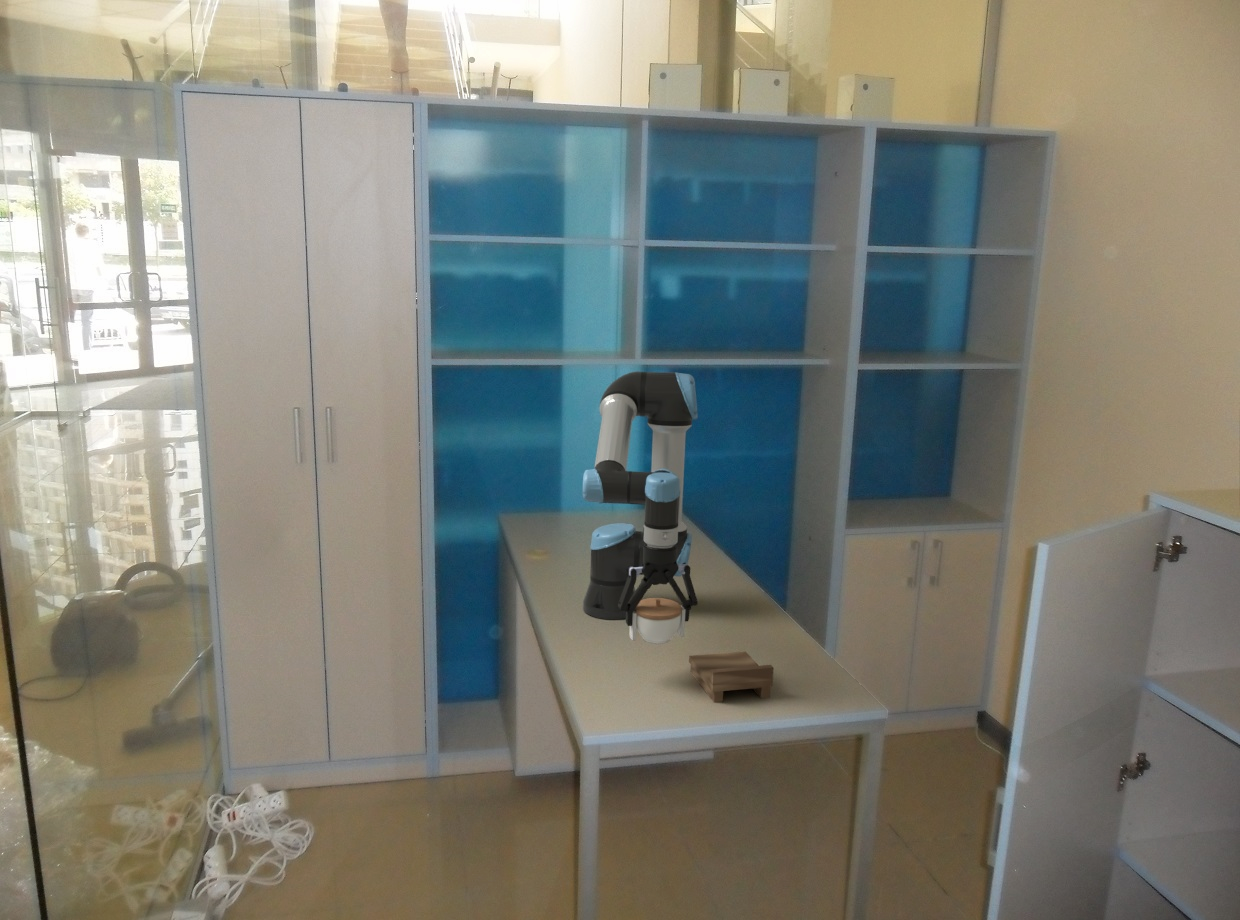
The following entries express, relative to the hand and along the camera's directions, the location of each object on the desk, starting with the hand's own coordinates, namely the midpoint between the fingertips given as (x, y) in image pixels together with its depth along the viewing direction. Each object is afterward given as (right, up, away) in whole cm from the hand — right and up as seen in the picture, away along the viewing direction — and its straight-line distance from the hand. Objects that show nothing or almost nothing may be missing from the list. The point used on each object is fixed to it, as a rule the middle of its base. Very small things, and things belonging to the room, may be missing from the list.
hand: (656, 636), depth 221 cm
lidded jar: (0, -1, 0) cm, 1 cm away
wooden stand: (+16, -11, +1) cm, 20 cm away
